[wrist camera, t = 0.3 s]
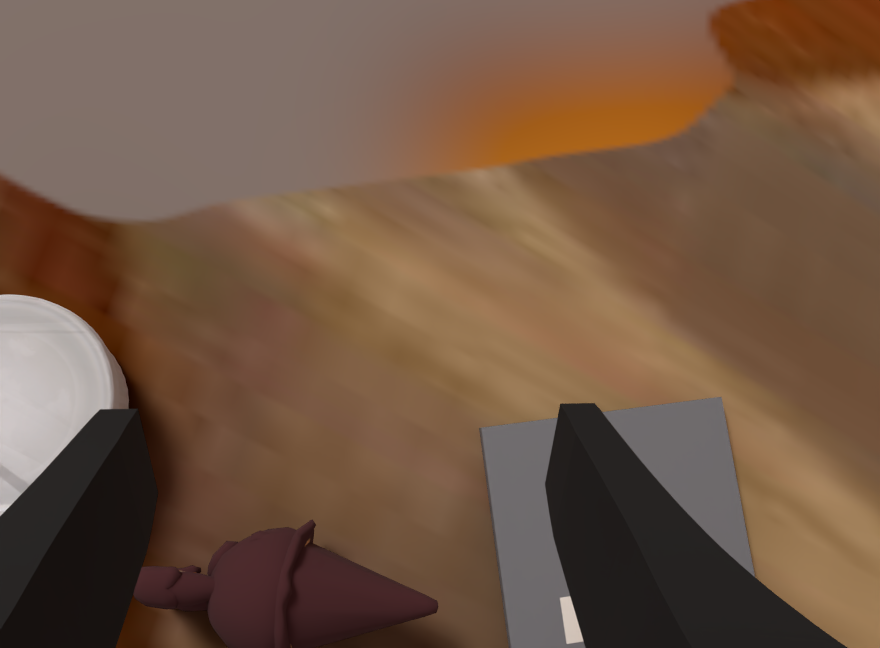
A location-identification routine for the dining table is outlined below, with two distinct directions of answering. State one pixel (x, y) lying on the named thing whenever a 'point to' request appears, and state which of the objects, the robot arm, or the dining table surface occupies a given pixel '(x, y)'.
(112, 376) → the ramekin
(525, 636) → the board
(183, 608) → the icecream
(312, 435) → the dining table surface
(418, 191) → the dining table surface
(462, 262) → the dining table surface
